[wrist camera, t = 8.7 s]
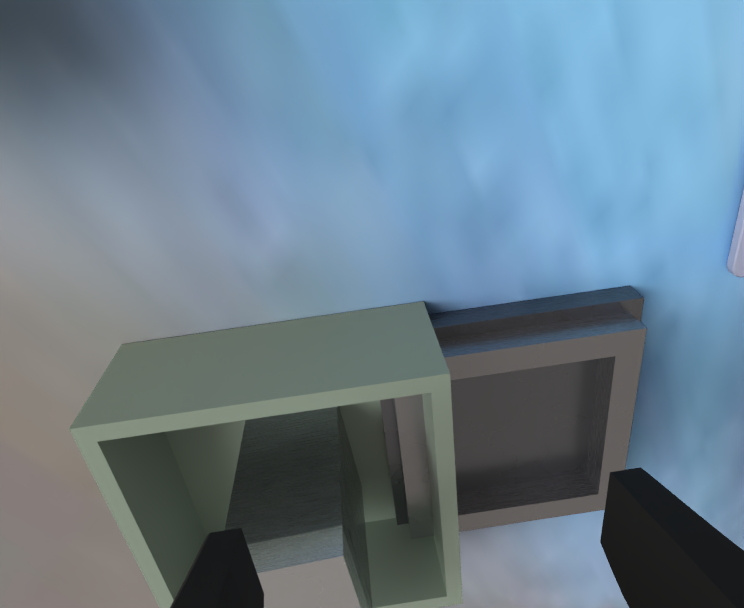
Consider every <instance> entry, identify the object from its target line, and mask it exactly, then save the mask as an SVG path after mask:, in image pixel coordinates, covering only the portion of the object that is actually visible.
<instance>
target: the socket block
mask: <svg viewBox="0 0 744 608" xmlns="http://www.w3.org/2000/svg"><path fill="white" fill-rule="evenodd" d="M643 302H644V297H643V296H641V295H640V294H639V293H638V292H637V291H636V290H634V289H633V288H632V287H631V286H625V287H618V288H611V289H604V290H597V291H590V292H583V293H576V294H569V295H562V296H555V297H548V298H541V299H534V300H527V301H520V302H513V303H507V304H500V305H493V306H486V307H479V308H472V309H465V310H458V311H451V312H444V313H437V314H430V315H429V318H430V321H431V323H432V326H433V329H434V331H435V334H436V337H437V340H438V342H439V345H440V348H441V350H442V353H443V356H444V358H445V361H446V364H447V367H448V369H449V372H450V381H451V399H452V418H453V436H454V454H455V472H456V490H457V508H458V526H459V532H460V531H467V530H473V529H480V528H486V527H493V526H499V525H506V524H513V523H519V522H526V521H532V520H539V519H545V518H552V517H558V516H565V515H571V514H578V513H585V512H591V511H598V510H604V509H605V505H606V497H607V490H608V483H609V475H610V472H614V471H621V470H625V466H626V459H627V453H628V447H629V440H630V434H631V427H632V421H633V414H634V408H635V401H636V395H637V388H638V382H639V375H640V369H641V363H642V356H643V350H644V343H645V337H646V330H647V328H646V327H645V326H644V325H643V324H642V323H641V316H642V309H643ZM380 404H381V411H382V419H383V426H384V433H385V441H386V448H387V455H388V463H389V470H390V477H391V484H392V492H393V499H394V506H395V514H396V521H397V525H401V524H407V523H409V529H410V534H411V539H414V538H421V537H427V536H434V535H435V534H434V523H433V512H432V500H431V489H430V478H429V466H428V455H427V444H426V432H425V421H424V409H423V398H422V394H419V395H412V396H405V397H398V398H391V399H385V400H380Z"/></svg>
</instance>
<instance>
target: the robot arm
mask: <svg viewBox="0 0 744 608" xmlns="http://www.w3.org/2000/svg"><path fill="white" fill-rule="evenodd" d="M727 269H728V271H729V272H731V273H732V274H734V275H736V276H737V277H744V190H743V194H742V199H741V203H740V208H739V212H738V217H737V221H736V226H735V230H734V235H733V239H732V243H731V248H730V252H729V257H728V261H727ZM600 542H601V545H602V547H603V550H604V552H605V554H606V557H607V559H608V562H609V564H610V567H611V569H612V571H613V574H614V576H615V578H616V581H617V583H618V585H619V587H620V590H621V592H622V594H623V596H624V598H625V600H626V602H627V604H628V606H629V608H744V551H743V550H742V549H741V548H739V547H738V546H737V545H736V544H734V543H733V542H732V541H730V540H729V539H728V538H727V537H725V536H724V535H723V534H722V533H720V532H719V531H718V530H717V529H715V528H714V527H713V526H712V525H710V524H709V523H708V522H707V521H706V520H704V519H703V518H702V517H701V516H699V515H698V514H697V513H696V512H694V511H693V510H692V509H691V508H690V507H688V506H687V505H686V504H685V503H683V502H682V501H681V500H680V499H679V498H677V497H676V496H675V495H674V494H673V493H671V492H670V491H669V490H668V489H667V488H665V487H664V486H663V485H662V484H660V483H659V482H658V481H657V480H656V479H654V478H653V477H652V476H651V475H649V474H648V473H647V472H646V471H644V470H643V469H642V468H634V469H628V470H621V471H614V472H610V475H609V483H608V490H607V497H606V505H605V512H604V519H603V527H602V534H601V541H600ZM170 608H264V592H263V589H262V586H261V583H260V580H259V577H258V575H257V572H256V569H255V566H254V563H253V560H252V557H251V554H250V551H249V548H248V546H247V543H246V540H245V537H244V534H243V531H242V528H237V529H231V530H224V531H218V532H211V533H209V534H208V535H207V537H206V538H205V540H204V542H203V544H202V546H201V548H200V550H199V552H198V554H197V556H196V558H195V560H194V562H193V564H192V566H191V568H190V570H189V572H188V574H187V576H186V578H185V580H184V582H183V584H182V586H181V588H180V589H179V591H178V593H177V595H176V597H175V599H174V601H173V603H172V605H171V606H170Z"/></svg>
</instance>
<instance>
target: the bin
mask: <svg viewBox="0 0 744 608" xmlns="http://www.w3.org/2000/svg"><path fill="white" fill-rule="evenodd" d="M419 394H422V398H423V409H424V421H425V432H426V444H427V455H428V466H429V478H430V489H431V500H432V512H433V523H434V534H435V535H434V536H427V537H421V538H414V539H411V534H410V529H409V523H407V524H401V525H397V521H396V514H395V506H394V499H393V492H392V484H391V477H390V470H389V463H388V455H387V448H386V441H385V433H384V426H383V419H382V411H381V404H380V400H385V399H391V398H398V397H405V396H412V395H419ZM337 406H339V407H340V411H341V414H342V418H343V421H344V425H345V428H346V432H347V435H348V439H349V442H350V446H351V450H352V453H353V457H354V460H355V464H356V467H357V471H358V474H359V478H360V481H361V485H362V494H363V505H364V517H365V528H366V539H367V550H368V562H369V573H370V584H371V595H372V607H373V608H437V607H443V606H449V605H456V604H462V603H463V599H462V581H461V563H460V544H459V526H458V508H457V490H456V472H455V454H454V436H453V418H452V399H451V381H450V372H449V369H448V367H447V364H446V361H445V358H444V356H443V353H442V350H441V348H440V345H439V342H438V340H437V337H436V334H435V331H434V329H433V326H432V323H431V321H430V318H429V315H428V313H427V310H426V307H425V304H424V302H423V301H422V302H415V303H408V304H401V305H394V306H387V307H380V308H373V309H366V310H359V311H352V312H345V313H338V314H331V315H324V316H317V317H311V318H304V319H297V320H290V321H283V322H276V323H269V324H262V325H255V326H248V327H241V328H234V329H227V330H220V331H213V332H206V333H199V334H192V335H185V336H178V337H171V338H164V339H157V340H150V341H143V342H136V343H129V344H122V345H121V346H120V348H119V350H118V351H117V353H116V354H115V356H114V358H113V359H112V361H111V363H110V364H109V366H108V367H107V369H106V371H105V372H104V374H103V375H102V377H101V379H100V380H99V382H98V383H97V385H96V387H95V388H94V390H93V392H92V393H91V395H90V396H89V398H88V400H87V401H86V403H85V404H84V406H83V408H82V409H81V411H80V412H79V414H78V416H77V417H76V419H75V420H74V422H73V424H72V425H71V427H70V429H69V430H70V432H71V434H72V436H73V438H74V440H75V442H76V444H77V446H78V448H79V450H80V452H81V454H82V456H83V458H84V460H85V462H86V464H87V466H88V468H89V469H90V471H91V473H92V475H93V477H94V479H95V481H96V483H97V485H98V487H99V489H100V491H101V493H102V495H103V497H104V499H105V501H106V503H107V505H108V507H109V509H110V511H111V513H112V515H113V517H114V519H115V521H116V523H117V525H118V527H119V529H120V531H121V532H122V534H123V536H124V538H125V540H126V542H127V544H128V546H129V548H130V550H131V552H132V554H133V556H134V558H135V560H136V562H137V564H138V566H139V568H140V570H141V572H142V574H143V576H144V578H145V580H146V582H147V584H148V586H149V588H150V590H151V592H152V593H153V595H154V597H155V599H156V601H157V603H158V605H159V607H160V608H170V606H171V605H172V603H173V601H174V599H175V597H176V595H177V593H178V591H179V589H180V588H181V586H182V584H183V582H184V580H185V578H186V576H187V574H188V572H189V570H190V568H191V566H192V564H193V562H194V560H195V558H196V556H197V554H198V552H199V550H200V548H201V546H202V544H203V542H204V540H205V538H206V537H207V535H208V534H209V533H211V532H218V531H224V530H225V525H226V520H227V514H228V509H229V504H230V499H231V493H232V488H233V483H234V478H235V472H236V467H237V462H238V457H239V451H240V446H241V441H242V436H243V430H244V425H245V420H248V419H255V418H262V417H269V416H276V415H282V414H289V413H296V412H303V411H310V410H317V409H323V408H330V407H337Z"/></svg>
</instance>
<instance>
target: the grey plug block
mask: <svg viewBox="0 0 744 608" xmlns="http://www.w3.org/2000/svg"><path fill="white" fill-rule="evenodd" d="M237 528H242V531H243V534H244V537H245V540H246V543H247V546H248V548H249V551H250V554H251V557H252V560H253V563H254V566H255V569H256V572H257V575H258V577H259V580H260V583H261V586H262V589H263V592H264V608H373V607H372V595H371V584H370V573H369V562H368V550H367V539H366V528H365V517H364V505H363V494H362V485H361V481H360V478H359V474H358V471H357V467H356V464H355V460H354V457H353V453H352V450H351V446H350V442H349V439H348V435H347V432H346V428H345V425H344V421H343V418H342V414H341V411H340V407H339V406H337V407H330V408H323V409H317V410H310V411H303V412H296V413H289V414H282V415H276V416H269V417H262V418H255V419H248V420H245V425H244V430H243V436H242V441H241V446H240V451H239V457H238V462H237V467H236V472H235V478H234V483H233V488H232V493H231V499H230V504H229V509H228V514H227V520H226V525H225V530H231V529H237Z"/></svg>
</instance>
